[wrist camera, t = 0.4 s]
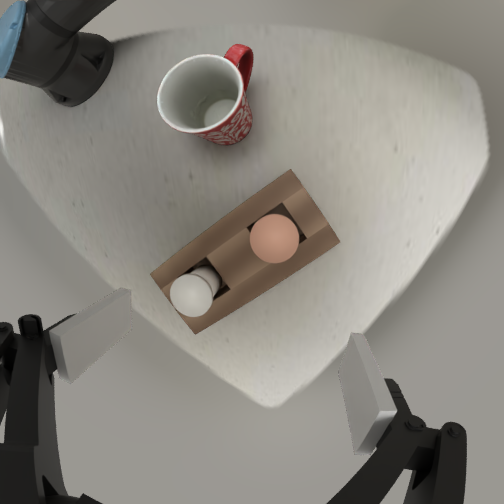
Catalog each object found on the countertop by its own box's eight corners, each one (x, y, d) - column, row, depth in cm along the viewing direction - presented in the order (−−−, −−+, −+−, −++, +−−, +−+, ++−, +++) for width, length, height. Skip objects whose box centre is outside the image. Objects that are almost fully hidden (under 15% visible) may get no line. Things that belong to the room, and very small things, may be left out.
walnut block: (170, 262, 42) (149, 274, 36) (290, 173, 38) (290, 169, 31) (209, 314, 43) (195, 334, 36) (332, 233, 38) (340, 241, 32)
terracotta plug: (249, 226, 34) (240, 233, 28) (282, 203, 33) (280, 204, 27) (272, 258, 35) (268, 272, 28) (305, 236, 34) (308, 245, 27)
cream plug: (182, 274, 37) (162, 289, 31) (210, 254, 36) (193, 267, 29) (204, 303, 37) (187, 324, 31) (232, 284, 36) (220, 303, 30)
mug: (235, 164, 38) (207, 149, 25) (185, 133, 38) (141, 109, 25) (285, 94, 35) (282, 50, 22) (233, 66, 35) (210, 19, 22)
